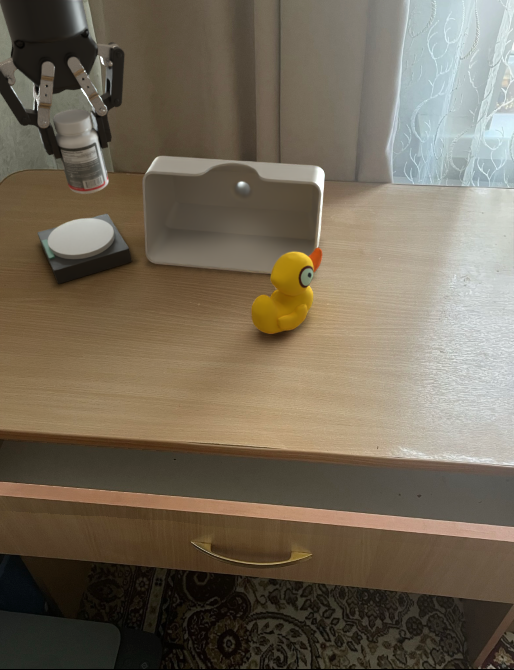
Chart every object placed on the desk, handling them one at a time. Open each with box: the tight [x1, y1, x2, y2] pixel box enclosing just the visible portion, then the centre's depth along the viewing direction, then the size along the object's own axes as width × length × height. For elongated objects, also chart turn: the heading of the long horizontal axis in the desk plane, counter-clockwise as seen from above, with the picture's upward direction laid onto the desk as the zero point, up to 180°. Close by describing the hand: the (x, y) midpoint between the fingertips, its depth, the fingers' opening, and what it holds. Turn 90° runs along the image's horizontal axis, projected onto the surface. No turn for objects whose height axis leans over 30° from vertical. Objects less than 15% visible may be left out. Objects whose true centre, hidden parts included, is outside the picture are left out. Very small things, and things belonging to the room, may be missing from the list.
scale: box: [36, 213, 133, 285], centre depth 83 cm, size 11×11×3 cm
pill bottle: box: [52, 108, 109, 195], centre depth 63 cm, size 5×5×8 cm
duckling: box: [250, 247, 323, 335], centre depth 69 cm, size 11×5×10 cm, turn 133°
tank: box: [142, 155, 325, 275], centre depth 82 cm, size 25×16×12 cm, turn 80°
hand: (80, 150), depth 63 cm, fingers closed on pill bottle, 4 cm apart
